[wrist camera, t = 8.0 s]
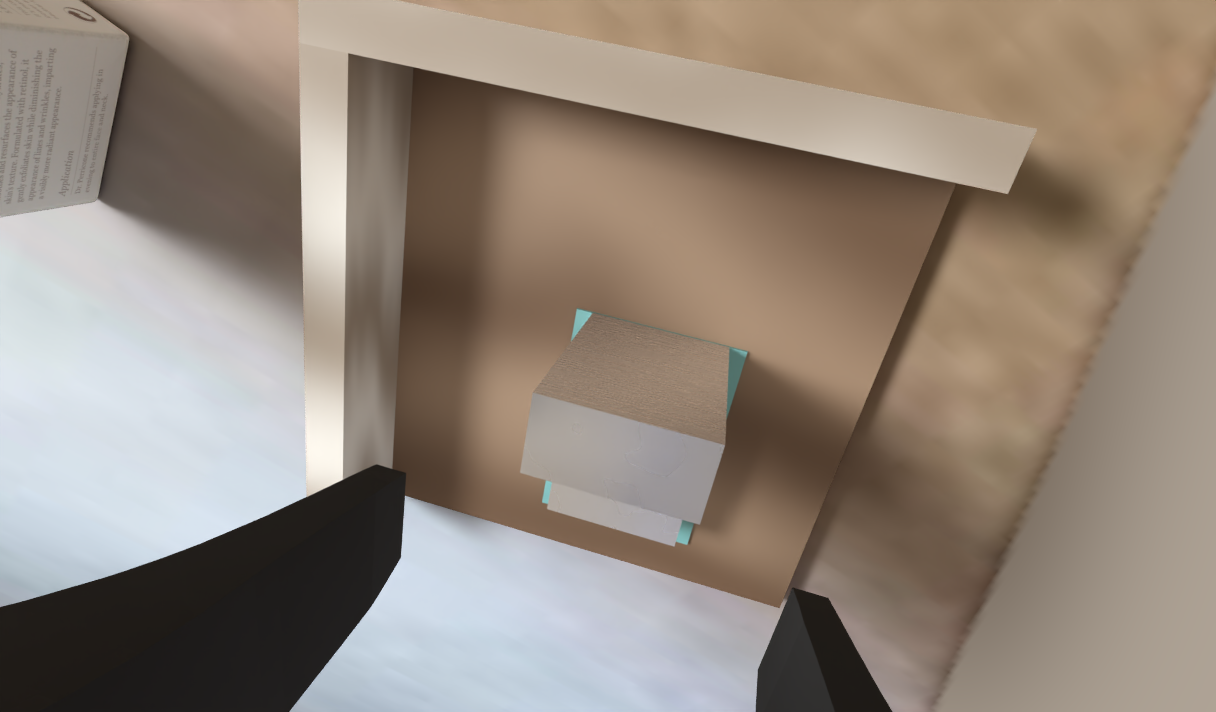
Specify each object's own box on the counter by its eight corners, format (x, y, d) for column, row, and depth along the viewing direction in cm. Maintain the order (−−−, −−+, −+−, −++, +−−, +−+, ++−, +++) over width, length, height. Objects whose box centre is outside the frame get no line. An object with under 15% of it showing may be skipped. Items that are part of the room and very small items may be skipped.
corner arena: (778, 594, 20) (785, 683, 17) (369, 472, 22) (307, 533, 19) (970, 126, 14) (1037, 129, 11) (385, 8, 16) (297, -20, 13)
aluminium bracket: (729, 347, 17) (725, 444, 12) (679, 516, 19) (657, 657, 14) (593, 312, 17) (533, 392, 12) (560, 481, 20) (498, 606, 15)
